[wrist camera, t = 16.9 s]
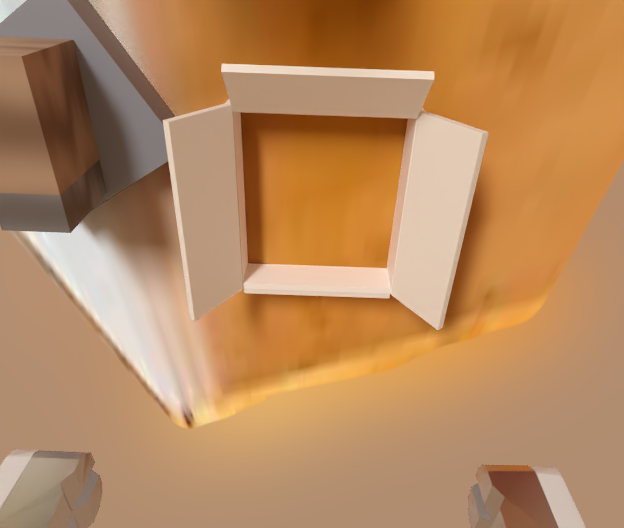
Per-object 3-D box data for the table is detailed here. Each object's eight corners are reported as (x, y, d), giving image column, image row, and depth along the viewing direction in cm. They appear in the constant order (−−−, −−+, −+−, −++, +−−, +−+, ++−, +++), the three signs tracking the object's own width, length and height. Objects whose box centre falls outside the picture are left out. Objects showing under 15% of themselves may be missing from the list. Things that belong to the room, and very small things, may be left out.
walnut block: (3, 36, 34) (-63, 53, 28) (73, 39, 34) (21, 56, 28) (48, 190, 41) (2, 230, 35) (106, 192, 41) (70, 232, 35)
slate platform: (70, -23, 35) (51, -21, 32) (192, 139, 41) (183, 151, 39) (-51, 81, 39) (-77, 89, 36) (77, 213, 45) (62, 228, 43)
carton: (186, 45, 37) (153, 66, 30) (467, 55, 37) (503, 79, 30) (209, 271, 49) (189, 326, 41) (424, 279, 49) (442, 335, 41)
